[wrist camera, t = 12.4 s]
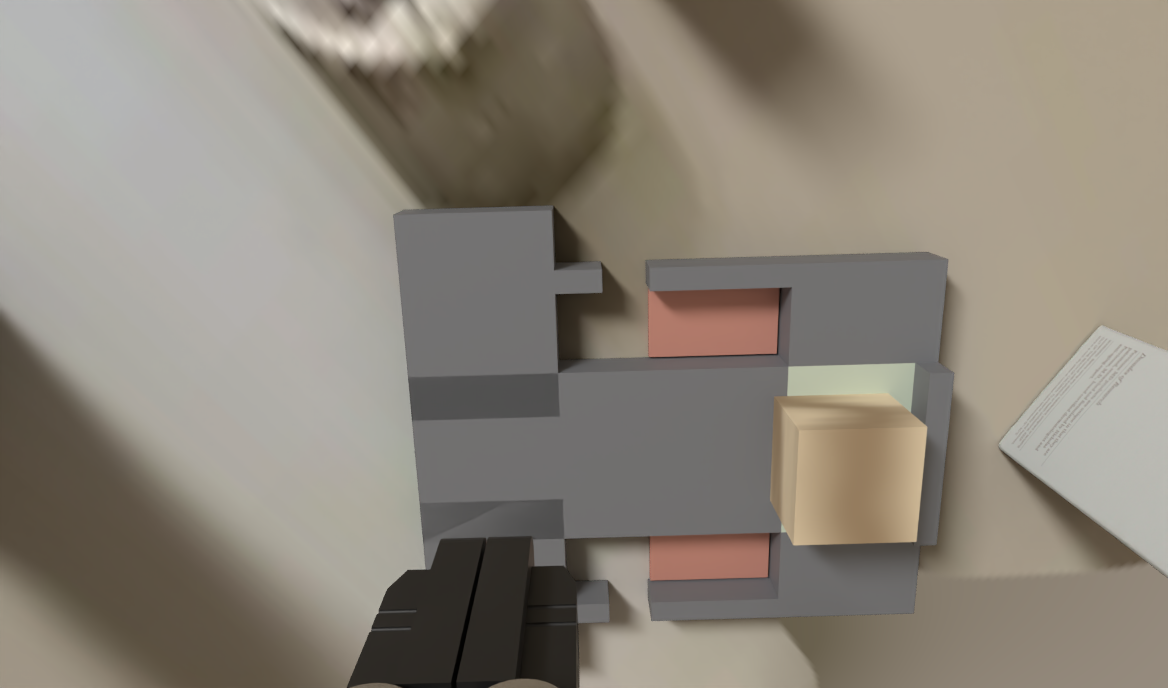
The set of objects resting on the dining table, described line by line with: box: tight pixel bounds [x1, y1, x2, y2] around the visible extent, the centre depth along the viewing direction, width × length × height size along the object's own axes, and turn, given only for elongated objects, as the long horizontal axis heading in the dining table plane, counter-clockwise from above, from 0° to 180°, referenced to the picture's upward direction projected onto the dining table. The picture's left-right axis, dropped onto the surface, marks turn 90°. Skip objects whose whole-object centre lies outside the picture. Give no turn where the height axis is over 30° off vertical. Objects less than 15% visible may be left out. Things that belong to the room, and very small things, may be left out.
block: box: [770, 393, 927, 545], centre depth 33 cm, size 5×5×4 cm
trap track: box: [393, 206, 954, 623], centre depth 35 cm, size 23×22×4 cm
